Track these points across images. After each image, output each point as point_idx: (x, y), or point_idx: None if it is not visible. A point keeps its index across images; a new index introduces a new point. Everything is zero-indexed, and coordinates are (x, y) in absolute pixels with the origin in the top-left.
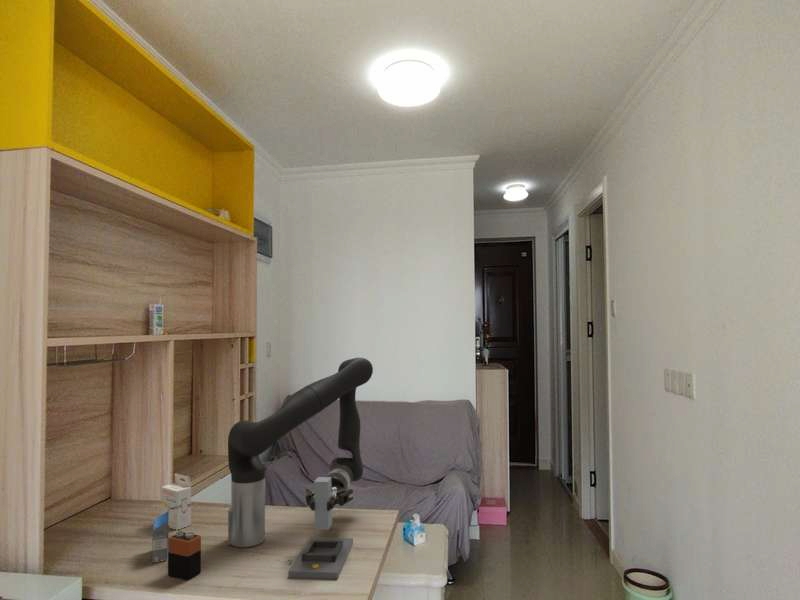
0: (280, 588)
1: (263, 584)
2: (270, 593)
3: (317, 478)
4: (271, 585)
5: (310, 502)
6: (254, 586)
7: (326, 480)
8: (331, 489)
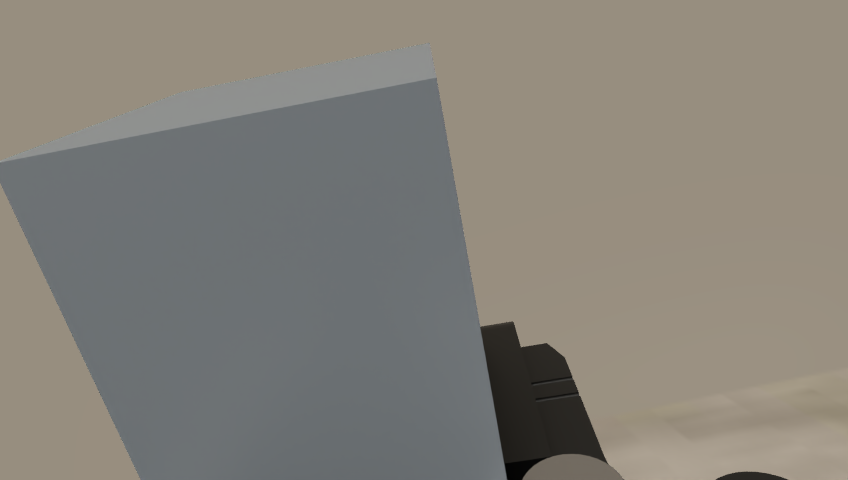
0: (602, 451)
1: (718, 460)
2: (620, 414)
3: (416, 66)
4: (668, 462)
5: (549, 357)
6: (747, 437)
7: (194, 96)
8: (140, 460)
